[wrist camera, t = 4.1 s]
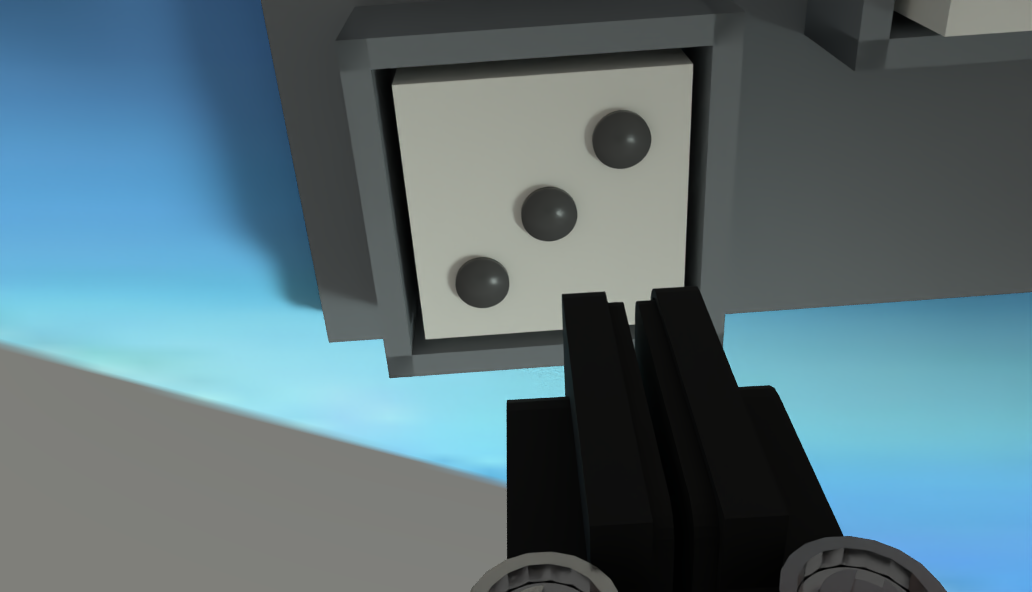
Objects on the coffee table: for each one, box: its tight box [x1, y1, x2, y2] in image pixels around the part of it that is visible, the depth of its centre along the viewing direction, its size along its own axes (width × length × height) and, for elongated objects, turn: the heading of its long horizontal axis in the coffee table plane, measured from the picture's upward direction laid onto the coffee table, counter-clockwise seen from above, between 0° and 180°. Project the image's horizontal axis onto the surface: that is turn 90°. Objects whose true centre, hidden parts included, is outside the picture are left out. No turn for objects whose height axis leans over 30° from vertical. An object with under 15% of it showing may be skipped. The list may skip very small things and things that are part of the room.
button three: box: [392, 48, 693, 339], centre depth 17 cm, size 5×5×2 cm
